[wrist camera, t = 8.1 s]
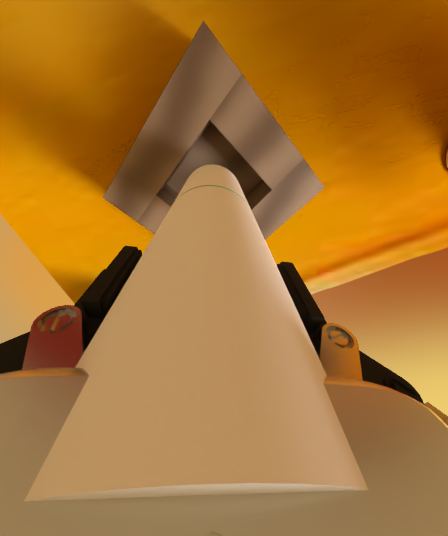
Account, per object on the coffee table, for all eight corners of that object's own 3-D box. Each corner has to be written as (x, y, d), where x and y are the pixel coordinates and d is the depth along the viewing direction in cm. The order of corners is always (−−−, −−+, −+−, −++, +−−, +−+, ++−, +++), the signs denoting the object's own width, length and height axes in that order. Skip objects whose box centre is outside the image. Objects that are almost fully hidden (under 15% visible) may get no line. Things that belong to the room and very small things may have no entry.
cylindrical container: (186, 222, 26) (84, 533, 6) (182, 162, 22) (-188, 501, 2) (238, 223, 27) (312, 520, 6) (243, 165, 23) (500, 472, 2)
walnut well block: (302, 176, 33) (324, 187, 26) (218, 256, 41) (219, 279, 35) (206, 51, 24) (203, 20, 18) (125, 184, 32) (102, 197, 26)
